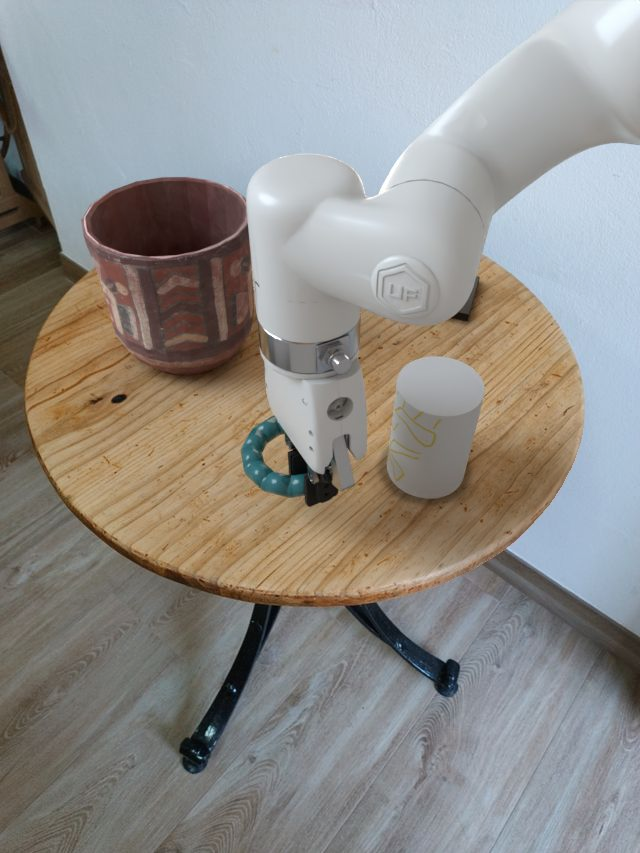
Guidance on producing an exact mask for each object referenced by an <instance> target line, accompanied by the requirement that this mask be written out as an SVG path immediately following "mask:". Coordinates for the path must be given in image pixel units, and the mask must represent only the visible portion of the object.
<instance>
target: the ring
mask: <svg viewBox="0 0 640 853" xmlns="http://www.w3.org/2000/svg"><path fill="white" fill-rule="evenodd" d="M281 435H285V431H284V429H283V428H282V426H281V425H280V423H279V422H278V420H277V419H276V417H275V416H274V415H271V416H270V417H268V418H267V419H264V420H263V421H262V422H260V423H258V424H256V425H255V426H254V427H253V428H251V430H250V431H249V433H248V434H247V436H246V439H245V441H244V443H243V444H242V445H241V448H240V455H241V457H240V458H241V461H242V467H243V472H244V474H245V476H246V477H248V479H249V480H251V481H252V482H253V483H254V484H255V485H256V486H257V487H258V488H259V489H260V490H261V491H263V492H265V493H269V494H273V495H276V496H279V497H280V496H281V497H284V498H288V499H289V498H290V499H292V498H299V497H305V493H304V476H305V475H306V474H308V473H304V474H298V475H293V476H291V475H289V474H286V473H283V472H278V471H275V470H273V469H272V468H271V467H270V466H269V465H267V464H266V462H265V459H264V455H263V453H264V451H265V449H266V447H267V444H269V442H272V441H273V440H275V439H276V438H279V436H281Z"/></svg>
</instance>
